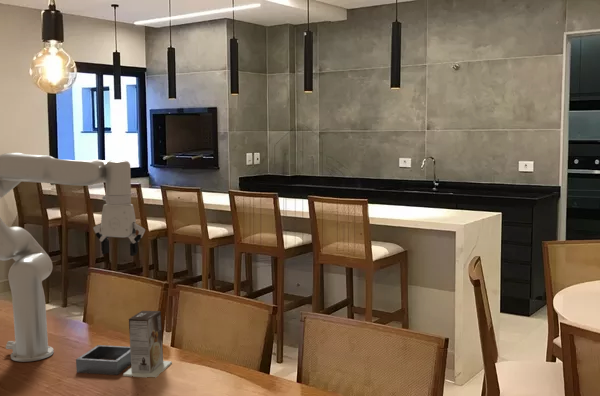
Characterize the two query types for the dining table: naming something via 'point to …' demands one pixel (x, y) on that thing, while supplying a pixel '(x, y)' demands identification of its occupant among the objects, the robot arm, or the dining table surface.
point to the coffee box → (146, 341)
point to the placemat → (153, 374)
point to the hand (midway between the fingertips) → (119, 254)
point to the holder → (95, 365)
